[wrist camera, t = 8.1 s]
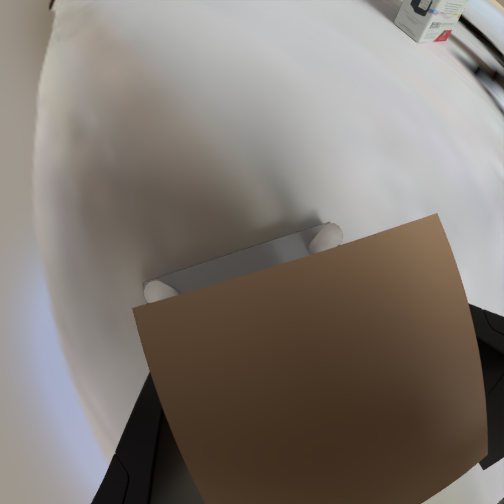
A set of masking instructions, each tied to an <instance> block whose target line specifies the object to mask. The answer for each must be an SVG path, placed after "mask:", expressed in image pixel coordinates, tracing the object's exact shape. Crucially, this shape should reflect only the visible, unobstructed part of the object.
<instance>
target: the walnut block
mask: <svg viewBox="0 0 504 504" xmlns="http://www.w3.org/2000/svg"><path fill="white" fill-rule="evenodd" d="M132 309H133V313H134V317H135V321H136V325H137V328H138V332H139V336H140V339H141V343H142V346H143V350H144V353H145V357H146V360H147V363H148V366H149V369H150V373H151V376H152V379H153V382H154V385H155V388H156V391H157V394H158V396H159V399H160V402H161V405H162V407H163V410H164V413H165V416H166V418H167V421H168V423H169V426H170V428H171V431H172V433H173V436H174V438H175V441H176V443H177V445H178V448H179V450H180V452H181V455H182V457H183V459H184V461H185V464H186V466H187V468H188V470H189V472H190V474H191V476H192V479H193V481H194V483H195V485H196V487H197V489H198V491H199V493H200V495H201V497H202V499H203V500H204V502H205V504H421V503H423V502H424V501H426V500H428V499H429V498H431V497H432V496H434V495H435V494H437V493H438V492H440V491H441V490H443V489H444V488H446V487H447V486H449V485H450V484H451V483H453V482H454V481H455V480H457V479H458V478H460V477H461V476H462V475H463V474H465V473H466V472H467V471H469V470H470V469H471V468H472V467H474V466H475V465H476V464H477V463H478V462H480V461H481V460H482V459H483V458H484V457H485V456H487V455H488V434H487V413H486V400H485V390H484V382H483V374H482V367H481V361H480V355H479V349H478V344H477V339H476V334H475V330H474V325H473V321H472V317H471V313H470V309H469V305H468V301H467V297H466V294H465V290H464V287H463V283H462V280H461V277H460V274H459V271H458V268H457V265H456V262H455V259H454V256H453V253H452V250H451V247H450V245H449V242H448V239H447V237H446V234H445V232H444V229H443V227H442V224H441V222H440V219H439V217H438V214H437V213H436V214H433V215H430V216H427V217H425V218H422V219H419V220H416V221H413V222H410V223H407V224H404V225H401V226H398V227H395V228H392V229H389V230H386V231H383V232H380V233H377V234H374V235H371V236H368V237H365V238H362V239H359V240H355V241H352V242H349V243H346V244H343V245H340V246H337V247H334V248H331V249H328V250H324V251H321V252H318V253H315V254H312V255H309V256H305V257H302V258H299V259H296V260H293V261H290V262H286V263H283V264H280V265H277V266H273V267H270V268H267V269H264V270H260V271H257V272H254V273H251V274H247V275H244V276H241V277H237V278H234V279H231V280H227V281H224V282H221V283H217V284H214V285H211V286H207V287H204V288H200V289H197V290H194V291H190V292H187V293H183V294H180V295H177V296H173V297H170V298H166V299H163V300H159V301H156V302H152V303H149V304H145V305H142V306H138V307H135V308H132Z"/></svg>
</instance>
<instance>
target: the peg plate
mask: <svg viewBox="0 0 504 504" xmlns="http://www.w3.org/2000/svg"><path fill="white" fill-rule="evenodd" d="M342 240H343V232H342V229H341V228H340V227H339V226H338V225H336V224H333V223H330V222H327V223H324V224H321V225H318V226H315V227H312V228H309V229H305V230H302V231H299V232H296V233H293V234H290V235H287V236H284V237H281V238H278V239H275V240H271V241H268V242H265V243H262V244H259V245H256V246H253V247H250V248H247V249H244V250H241V251H238V252H235V253H231V254H228V255H225V256H222V257H219V258H216V259H213V260H210V261H207V262H204V263H201V264H198V265H195V266H192V267H189V268H186V269H183V270H180V271H177V272H173V273H170V274H167V275H164V276H161V277H158V278H155V279H152V280H149V281H146V282H143V287H144V297H145V299H146V301H147V302H148V304H149V303H152V302H156V301H159V300H163V299H166V298H170V297H173V296H177V295H180V294H183V293H187V292H190V291H194V290H197V289H200V288H204V287H207V286H211V285H214V284H217V283H221V282H224V281H227V280H231V279H234V278H237V277H241V276H244V275H247V274H251V273H254V272H257V271H260V270H264V269H267V268H270V267H273V266H277V265H280V264H283V263H286V262H290V261H293V260H296V259H299V258H302V257H305V256H309V255H312V254H315V253H318V252H321V251H324V250H328V249H331V248H334V247H337V246H340V245H339V244H340V243H341V242H342Z"/></svg>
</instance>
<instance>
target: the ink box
mask: <svg viewBox="0 0 504 504" xmlns="http://www.w3.org/2000/svg"><path fill="white" fill-rule="evenodd" d="M468 1H469V0H403V3H402V5H401V7H400V10H399V12H398V14H397V17H396V19H395V21H394V24H395V25H397V26H398V27H399V28H400V29H401V30H403V31H404V32H405V33H406V34H408V35H409V36H410V37H411V38H412V39H414V40H415V41H416V42H417V43H425V42H434V41H446V39H447V38H448V36H449V34H450V33H451V31H452V29H453V28H454V26H455V24H456V22H457V21H458V19H459V17H460V15H461V14H462V12H463V10H464V9H465V7H466V5H467V3H468Z"/></svg>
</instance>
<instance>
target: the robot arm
mask: <svg viewBox="0 0 504 504" xmlns="http://www.w3.org/2000/svg"><path fill="white" fill-rule="evenodd" d="M468 305H469V309H470V313H471V317H472V321H473V325H474V330H475V334H476V339H477V344H478V349H479V355H480V361H481V367H482V374H483V382H484V390H485V400H486V413H487V434H488V455H487V456H485V457H484V458H483V459H482V460H481V461H480V462H479V464H480V466H481V467H482V469H483V470H485V469H487V468H488V467H490V466H491V465H493V464H494V463H496V462H497V461H499V460H500V459H502V458H503V457H504V317H503V316H500V315H498V314H495V313H492V312H490V311H487V310H484V309H483V310H482V308H479V307H476V306H474V305H471V304H469V303H468ZM115 453H116V454H114V456H113V458H112V460H111V463H110V465H109V468H108V470H107V473H106V475H105V477H104V479H103V481H102V483H101V485H100V487H99V489H98V491H97V493H96V495H95V497H94V499H93V501H92V503H91V504H205V502H204V500H203V499H202V497H201V495H200V493H199V491H198V489H197V487H196V485H195V483H194V481H193V479H192V476H191V474H190V472H189V470H188V468H187V466H186V464H185V461H184V459H183V457H182V455H181V452H180V450H179V448H178V445H177V443H176V441H175V438H174V436H173V433H172V431H171V428H170V426H169V423H168V421H167V418H166V416H165V413H164V410H163V407H162V405H161V402H160V399H159V396H158V394H157V391H156V388H155V385H154V382H153V379H152V376H151V373H150V372H149V374H148V376H147V379H146V381H145V383H144V385H143V388H142V390H141V392H140V394H139V397H138V399H137V401H136V403H135V406H134V408H133V410H132V413H131V415H130V417H129V420H128V422H127V424H126V427H125V429H124V432H123V434H122V436H121V439H120V441H119V444H118V446H117V448H116V451H115ZM497 504H504V498H503V499H502V500H501V501H500V502H499V503H497Z"/></svg>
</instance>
